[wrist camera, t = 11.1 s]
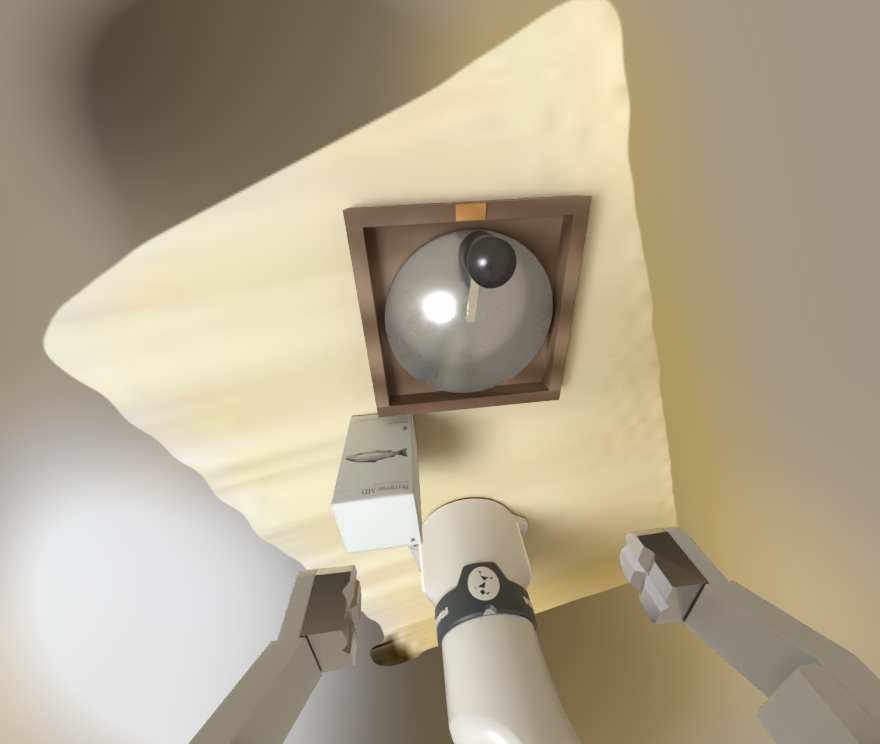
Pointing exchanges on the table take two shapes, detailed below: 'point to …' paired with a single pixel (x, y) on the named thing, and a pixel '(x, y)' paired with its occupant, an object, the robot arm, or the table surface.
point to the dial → (468, 310)
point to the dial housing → (408, 226)
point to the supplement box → (379, 485)
